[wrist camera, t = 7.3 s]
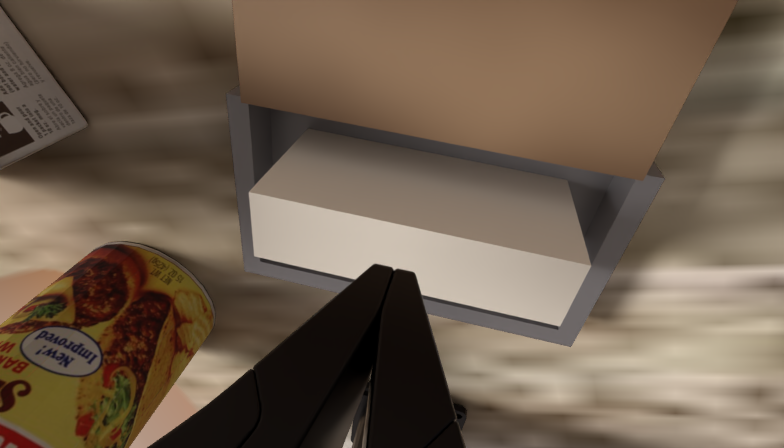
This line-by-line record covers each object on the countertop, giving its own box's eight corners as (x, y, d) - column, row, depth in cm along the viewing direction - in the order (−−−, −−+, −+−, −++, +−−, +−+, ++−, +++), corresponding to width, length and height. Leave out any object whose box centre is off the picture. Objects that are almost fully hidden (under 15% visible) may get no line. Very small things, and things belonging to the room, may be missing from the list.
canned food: (158, 227, 22) (-109, 464, 12) (241, 333, 26) (85, 581, 16) (61, 256, 25) (-218, 466, 15) (147, 348, 29) (-32, 565, 19)
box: (564, 312, 20) (571, 346, 18) (263, 245, 21) (244, 271, 20) (647, 151, 15) (665, 178, 14) (252, 77, 16) (225, 93, 15)
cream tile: (567, 180, 16) (545, 233, 17) (308, 128, 17) (307, 183, 18) (591, 265, 12) (560, 326, 13) (248, 191, 13) (254, 256, 14)
